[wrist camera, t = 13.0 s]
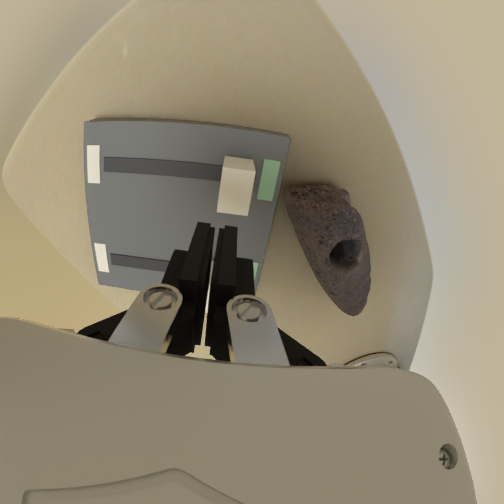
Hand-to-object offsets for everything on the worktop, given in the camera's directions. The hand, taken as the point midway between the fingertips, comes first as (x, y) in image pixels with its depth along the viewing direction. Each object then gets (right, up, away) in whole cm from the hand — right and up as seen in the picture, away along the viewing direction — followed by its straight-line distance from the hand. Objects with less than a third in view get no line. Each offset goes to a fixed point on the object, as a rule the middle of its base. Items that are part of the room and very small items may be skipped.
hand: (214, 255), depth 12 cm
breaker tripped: (0, +6, +8) cm, 10 cm away
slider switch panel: (-5, +4, +12) cm, 13 cm away
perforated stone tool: (+9, +2, +14) cm, 17 cm away
